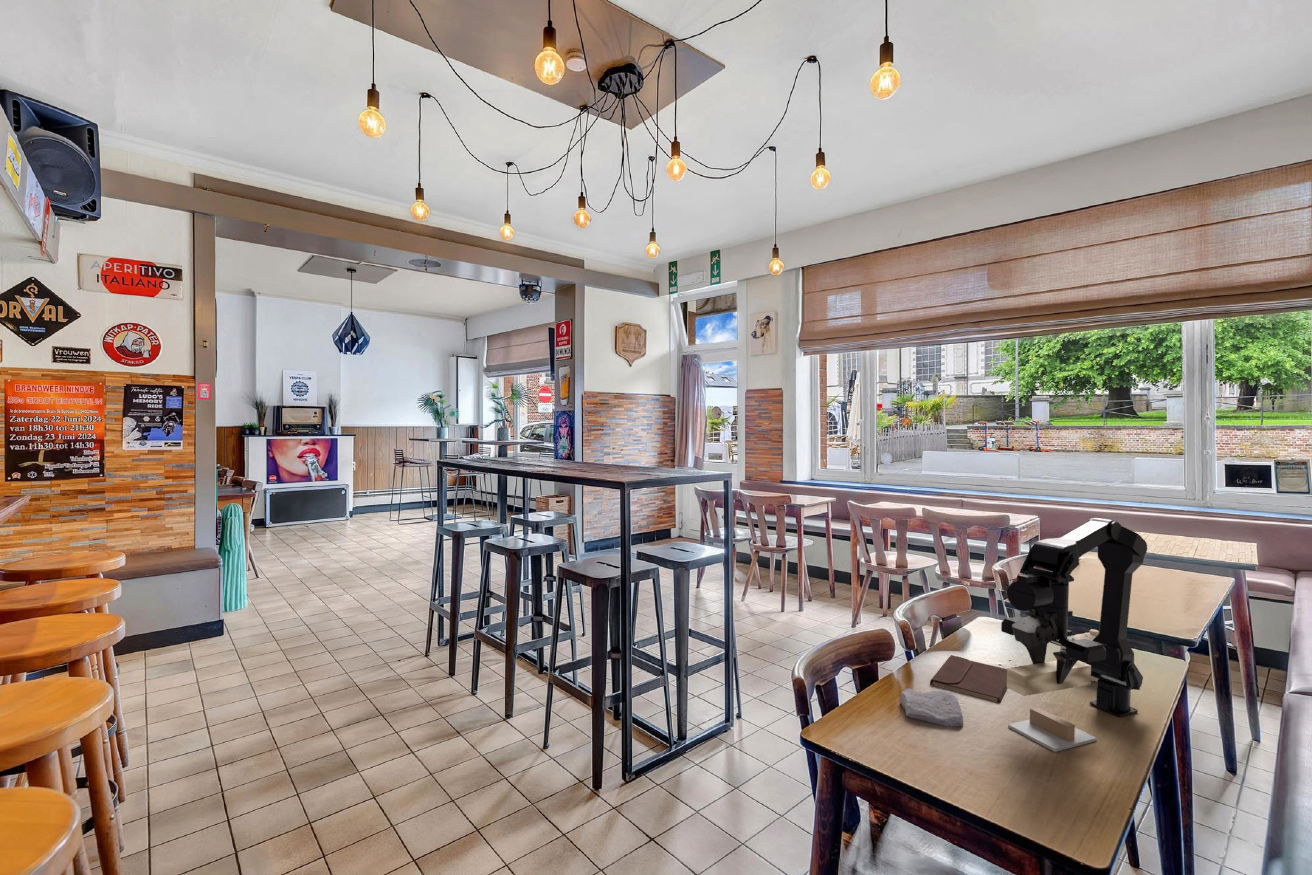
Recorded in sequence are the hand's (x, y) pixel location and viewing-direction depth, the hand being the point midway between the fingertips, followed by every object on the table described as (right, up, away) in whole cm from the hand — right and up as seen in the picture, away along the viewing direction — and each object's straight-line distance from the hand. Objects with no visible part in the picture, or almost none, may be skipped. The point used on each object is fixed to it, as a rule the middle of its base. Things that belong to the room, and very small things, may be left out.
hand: (1049, 679), depth 124 cm
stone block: (-21, -11, +7) cm, 25 cm away
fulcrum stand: (0, -11, 0) cm, 11 cm away
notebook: (-2, -11, +26) cm, 28 cm away
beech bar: (0, -1, 0) cm, 1 cm away
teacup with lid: (+31, -11, +29) cm, 44 cm away
